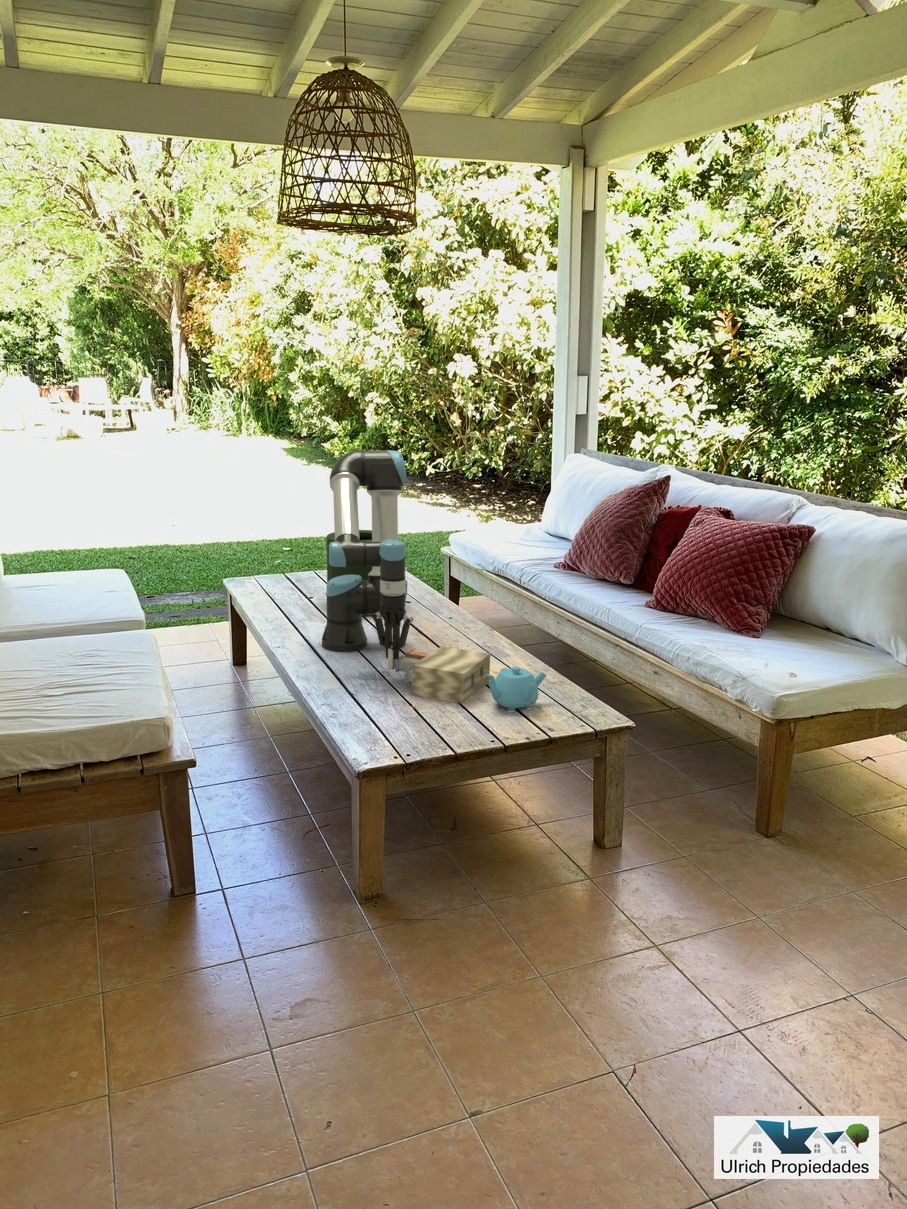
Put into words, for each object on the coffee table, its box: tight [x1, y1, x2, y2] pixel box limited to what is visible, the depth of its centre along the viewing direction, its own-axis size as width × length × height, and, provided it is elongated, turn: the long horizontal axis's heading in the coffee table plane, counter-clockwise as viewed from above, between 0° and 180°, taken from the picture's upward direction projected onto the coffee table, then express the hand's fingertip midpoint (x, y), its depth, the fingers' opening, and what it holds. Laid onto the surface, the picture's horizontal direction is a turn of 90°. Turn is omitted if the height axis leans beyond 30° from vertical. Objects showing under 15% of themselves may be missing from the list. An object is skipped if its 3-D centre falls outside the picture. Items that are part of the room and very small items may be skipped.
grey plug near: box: [404, 665, 413, 684], centre depth 276 cm, size 17×4×4 cm, turn 66°
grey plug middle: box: [394, 654, 420, 673], centre depth 285 cm, size 17×4×4 cm, turn 66°
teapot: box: [485, 666, 547, 712], centre depth 268 cm, size 15×14×11 cm
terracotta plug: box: [404, 648, 431, 660], centre depth 291 cm, size 17×4×4 cm, turn 66°
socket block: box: [411, 646, 491, 705], centre depth 281 cm, size 16×20×9 cm
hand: (392, 668), depth 289 cm, fingers closed
